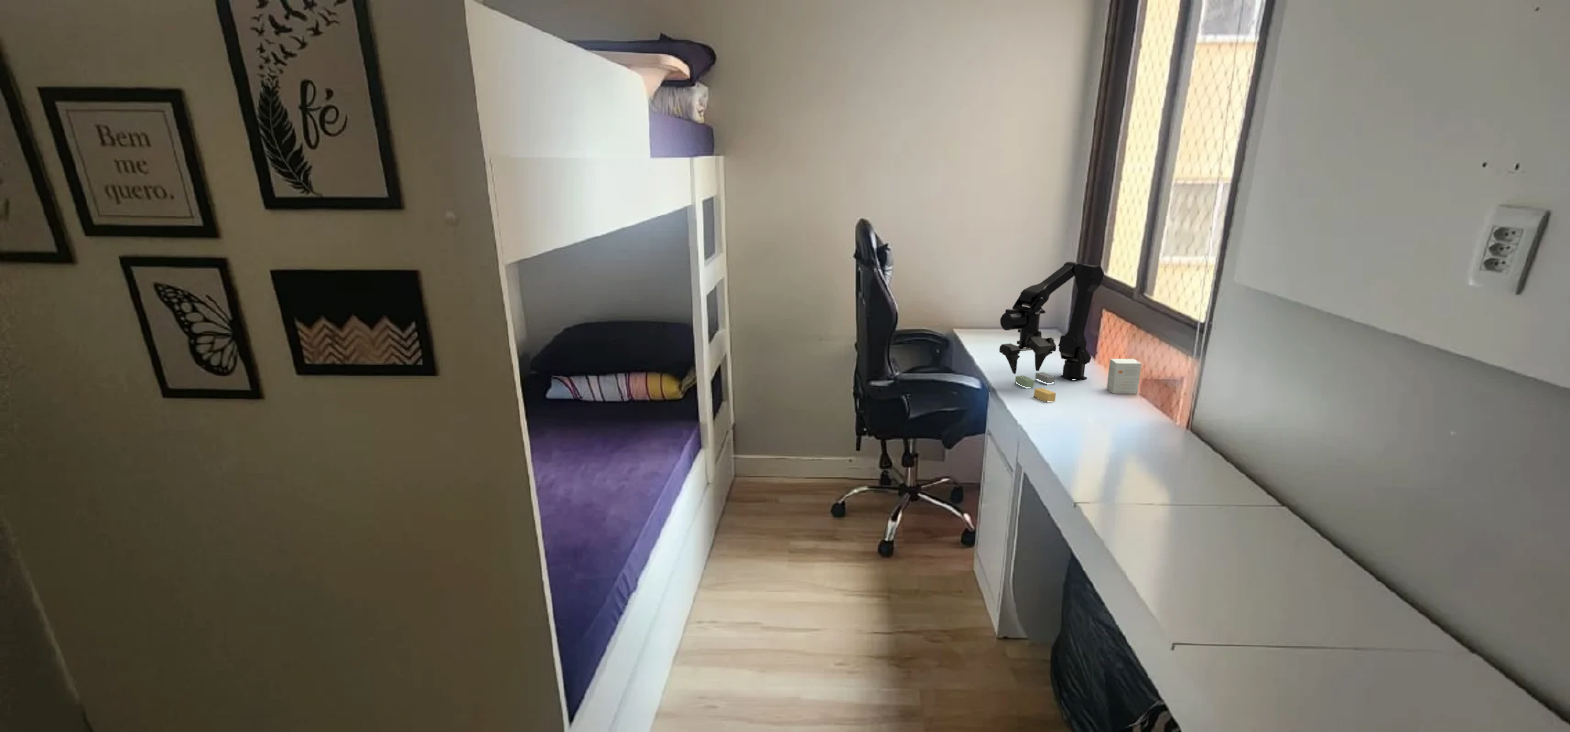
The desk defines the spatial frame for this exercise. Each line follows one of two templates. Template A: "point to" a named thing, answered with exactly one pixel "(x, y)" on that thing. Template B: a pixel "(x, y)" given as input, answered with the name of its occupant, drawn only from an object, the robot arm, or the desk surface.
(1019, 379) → the sage brick
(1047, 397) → the ochre brick
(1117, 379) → the small box
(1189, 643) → the desk surface
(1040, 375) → the slate brick
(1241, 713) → the desk surface
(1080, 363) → the robot arm
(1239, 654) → the desk surface
